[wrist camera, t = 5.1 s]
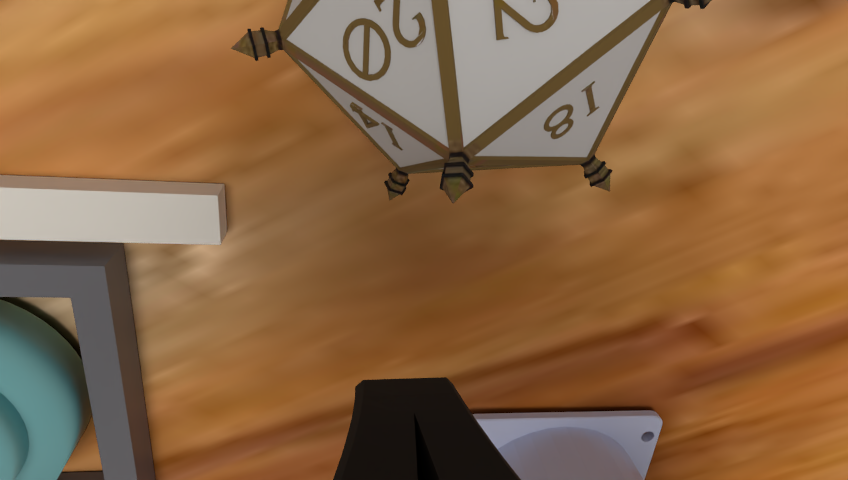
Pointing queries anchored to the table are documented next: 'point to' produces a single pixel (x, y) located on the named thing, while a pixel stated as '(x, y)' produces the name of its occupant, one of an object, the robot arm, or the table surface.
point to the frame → (111, 210)
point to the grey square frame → (93, 341)
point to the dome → (38, 397)
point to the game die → (472, 77)
